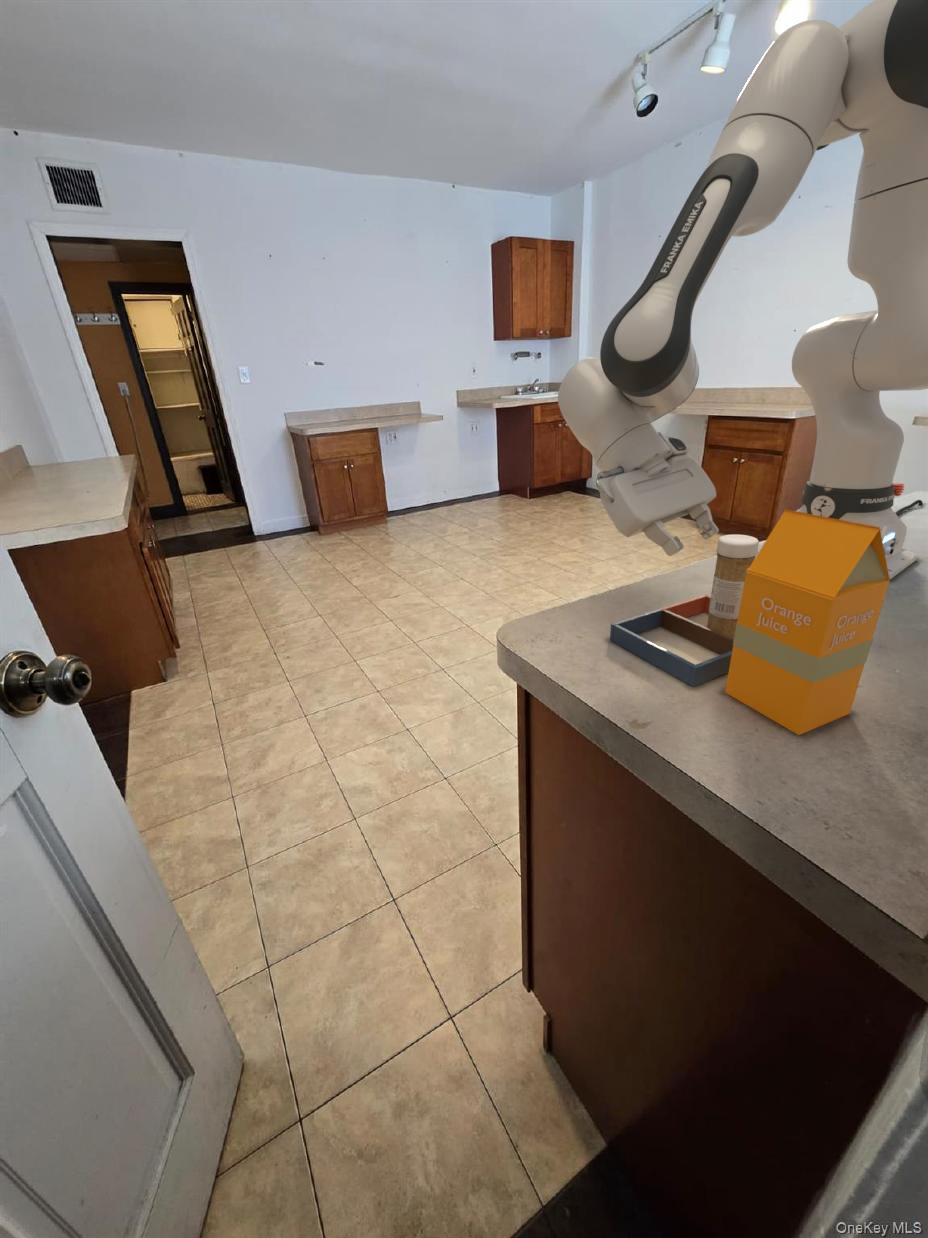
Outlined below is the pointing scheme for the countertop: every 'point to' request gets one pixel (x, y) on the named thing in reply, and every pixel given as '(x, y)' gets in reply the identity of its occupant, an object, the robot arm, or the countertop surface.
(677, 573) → the countertop surface
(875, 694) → the countertop surface
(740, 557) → the sprinkles bottle
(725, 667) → the sorting tray
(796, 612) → the orange juice
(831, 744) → the countertop surface
